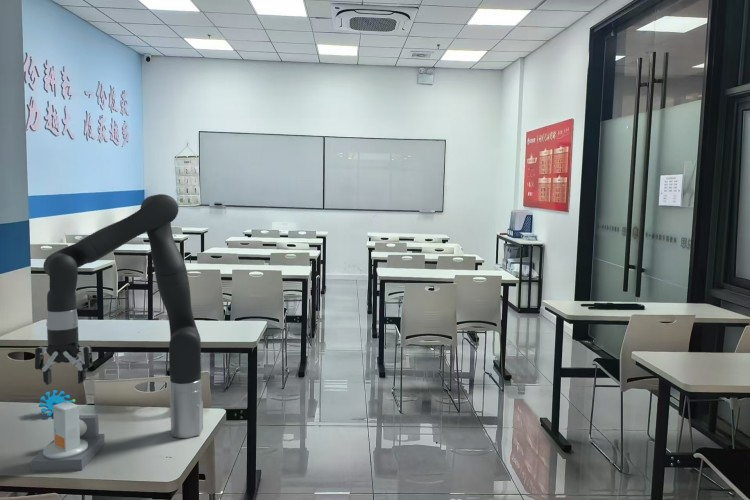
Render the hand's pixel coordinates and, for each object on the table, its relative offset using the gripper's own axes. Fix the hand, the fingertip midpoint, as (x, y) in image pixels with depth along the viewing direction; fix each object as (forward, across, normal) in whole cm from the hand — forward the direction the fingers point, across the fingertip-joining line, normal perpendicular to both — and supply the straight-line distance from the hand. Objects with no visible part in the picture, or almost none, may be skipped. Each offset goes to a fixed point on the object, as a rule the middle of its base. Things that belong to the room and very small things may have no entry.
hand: (64, 383), depth 159 cm
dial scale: (+22, 0, -2) cm, 22 cm away
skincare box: (+18, 0, 0) cm, 18 cm away
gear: (+22, +18, -36) cm, 46 cm away
